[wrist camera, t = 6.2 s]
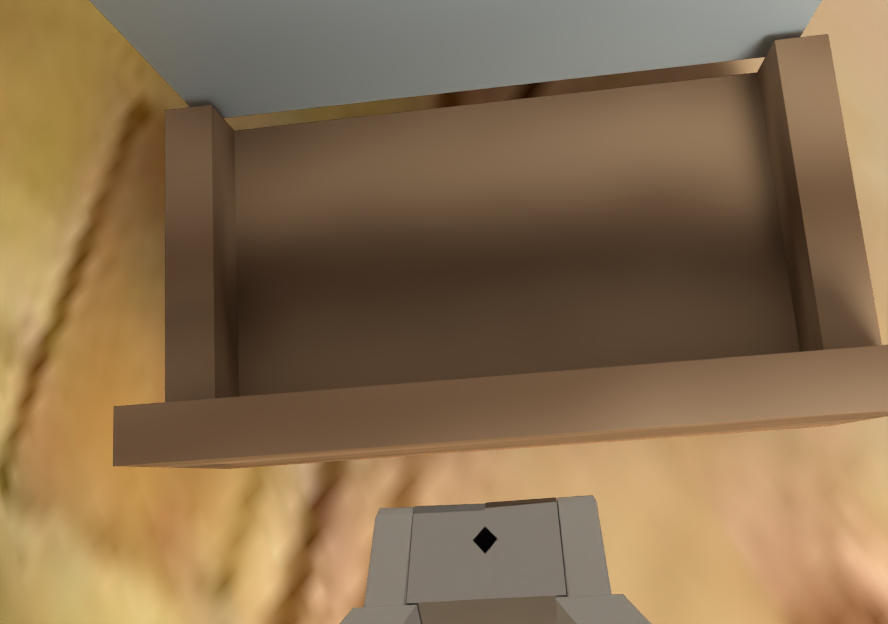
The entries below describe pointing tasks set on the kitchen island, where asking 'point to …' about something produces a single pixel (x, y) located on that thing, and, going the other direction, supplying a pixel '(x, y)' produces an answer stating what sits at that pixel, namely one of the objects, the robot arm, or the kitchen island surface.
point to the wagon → (514, 275)
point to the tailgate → (428, 44)
